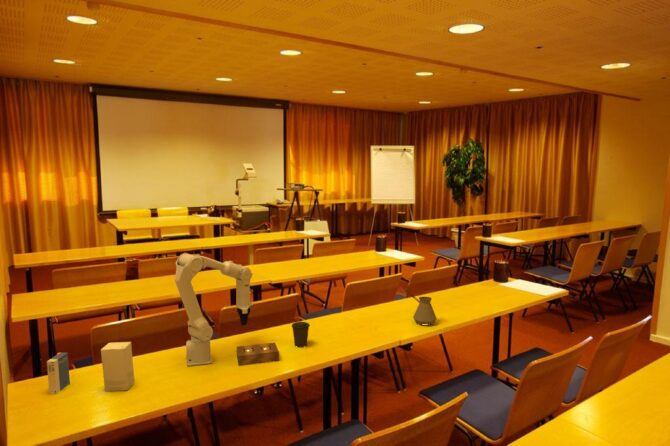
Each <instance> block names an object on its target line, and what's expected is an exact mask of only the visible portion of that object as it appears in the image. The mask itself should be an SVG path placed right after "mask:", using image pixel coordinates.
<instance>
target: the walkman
mask: <svg viewBox="0 0 670 446" xmlns="http://www.w3.org/2000/svg"><path fill="white" fill-rule="evenodd" d="M69 365H70V364H69V354H68V352H58V353H57V354H56V355H54V356H53V357H51V358H49V360H46V367H47V381H48V391H49V394H50V395H51V394H52V395H57V394H58V393H60V392H61V391H62V390H63V389H66V387H67V386H69V384H71V382H70V381H71V380H70V368H69Z"/></svg>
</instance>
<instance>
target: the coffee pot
mask: <svg viewBox="0 0 670 446" xmlns="http://www.w3.org/2000/svg"><path fill="white" fill-rule="evenodd" d="M401 291H403V292H405V293H407V294H408V295H409V296H410V297H411V298H413V299H414V300H415V301H417V303H418V305H417V308H416V310H415V313H413V320H414V322H415V323H419V324H432V323H433V324H434V323H435V322H436V321H437V315H436V313H435V310H434V309H433V306H432V303H431V301H432V300H433V299H432V297H431V296H419V297H418V298H417V297H416V296H415V295H414V294H413V293H412V292H410V291H409V290H408V289H406V288H405V287H404V288H402V290H401ZM419 324H418V325H419ZM433 324H432V325H433Z"/></svg>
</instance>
